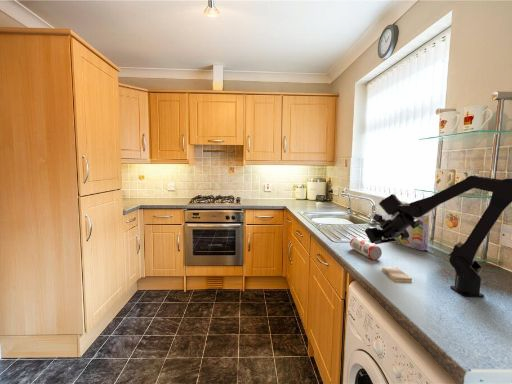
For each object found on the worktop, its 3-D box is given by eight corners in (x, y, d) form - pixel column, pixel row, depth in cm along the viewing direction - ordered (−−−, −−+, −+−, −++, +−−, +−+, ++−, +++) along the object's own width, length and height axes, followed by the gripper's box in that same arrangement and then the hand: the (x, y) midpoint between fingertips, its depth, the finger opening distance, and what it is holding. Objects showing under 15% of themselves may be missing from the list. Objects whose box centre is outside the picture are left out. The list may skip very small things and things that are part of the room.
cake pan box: (387, 240, 144) (389, 209, 142) (394, 239, 146) (396, 208, 144) (421, 251, 127) (424, 215, 125) (428, 250, 129) (431, 215, 127)
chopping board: (411, 281, 94) (412, 278, 94) (394, 281, 94) (395, 278, 94) (397, 270, 104) (397, 267, 104) (381, 270, 104) (382, 267, 104)
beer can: (369, 260, 113) (347, 248, 128) (381, 261, 115) (358, 249, 130) (372, 246, 113) (350, 236, 128) (384, 247, 114) (360, 237, 130)
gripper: (405, 206, 110) (383, 226, 121) (369, 208, 104) (349, 228, 115) (421, 229, 103) (395, 247, 115) (383, 232, 97) (361, 251, 109)
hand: (375, 243), depth 114 cm, fingers closed
